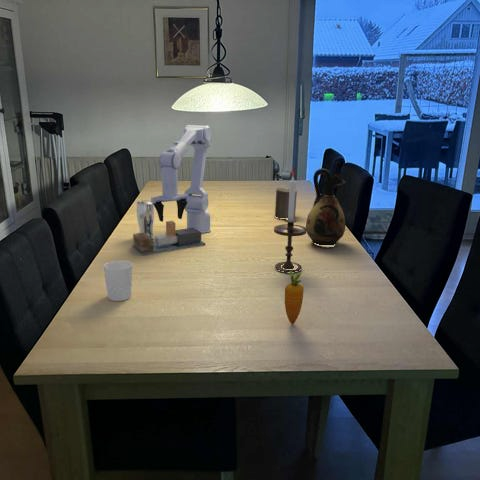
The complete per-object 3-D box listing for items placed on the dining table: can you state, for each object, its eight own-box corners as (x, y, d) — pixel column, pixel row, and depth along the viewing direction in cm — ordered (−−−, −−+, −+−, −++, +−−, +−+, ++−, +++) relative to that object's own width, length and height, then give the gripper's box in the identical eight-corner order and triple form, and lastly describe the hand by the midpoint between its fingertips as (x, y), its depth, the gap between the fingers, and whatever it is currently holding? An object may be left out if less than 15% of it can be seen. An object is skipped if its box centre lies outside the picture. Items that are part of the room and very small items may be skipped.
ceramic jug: (347, 242, 204) (354, 168, 195) (338, 252, 190) (344, 174, 181) (307, 236, 211) (312, 164, 202) (295, 246, 197) (300, 170, 188)
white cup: (138, 293, 150) (136, 262, 147) (124, 304, 143) (122, 271, 140) (115, 289, 153) (113, 258, 150) (100, 299, 146) (98, 267, 143)
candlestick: (283, 276, 166) (288, 171, 156) (266, 266, 175) (270, 165, 165) (310, 271, 171) (317, 169, 160) (292, 261, 180) (298, 164, 170)
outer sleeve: (192, 237, 205) (192, 225, 204) (205, 245, 196) (205, 232, 195) (131, 247, 192) (130, 234, 190) (142, 255, 183) (141, 242, 182)
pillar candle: (272, 218, 236) (273, 187, 231) (278, 214, 245) (280, 183, 240) (291, 221, 233) (294, 189, 228) (297, 216, 241) (299, 185, 237)
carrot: (281, 320, 136) (284, 267, 131) (299, 319, 136) (302, 267, 132) (284, 328, 131) (287, 274, 126) (303, 328, 131) (306, 274, 127)
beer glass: (151, 241, 199) (150, 204, 194) (134, 240, 200) (133, 203, 195) (157, 236, 205) (156, 200, 201) (141, 235, 206) (140, 199, 202)
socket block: (144, 243, 193) (144, 232, 192) (153, 250, 186) (153, 238, 185) (133, 245, 191) (133, 234, 190) (142, 252, 184) (141, 240, 182)
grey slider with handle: (192, 237, 201) (192, 217, 198) (196, 239, 198) (196, 220, 195) (154, 242, 193) (153, 222, 190) (158, 245, 189) (158, 225, 187)
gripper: (155, 188, 180) (156, 224, 185) (192, 184, 188) (192, 219, 192) (148, 184, 186) (149, 220, 190) (184, 181, 193) (184, 215, 198)
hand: (170, 219), depth 191 cm, fingers open, 7 cm apart
